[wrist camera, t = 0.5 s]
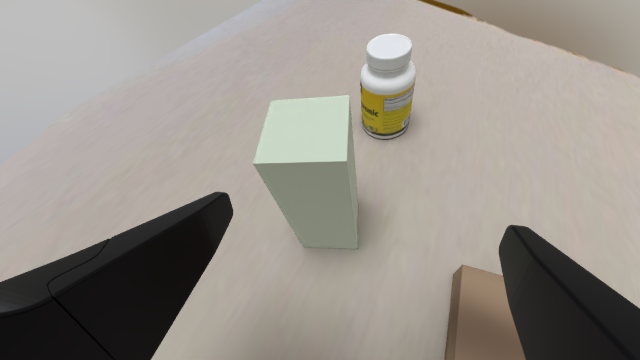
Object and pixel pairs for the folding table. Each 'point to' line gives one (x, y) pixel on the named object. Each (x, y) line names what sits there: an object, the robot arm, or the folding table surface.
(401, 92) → the supplement bottle
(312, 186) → the sage post
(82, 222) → the folding table surface
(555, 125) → the folding table surface
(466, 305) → the walnut block
